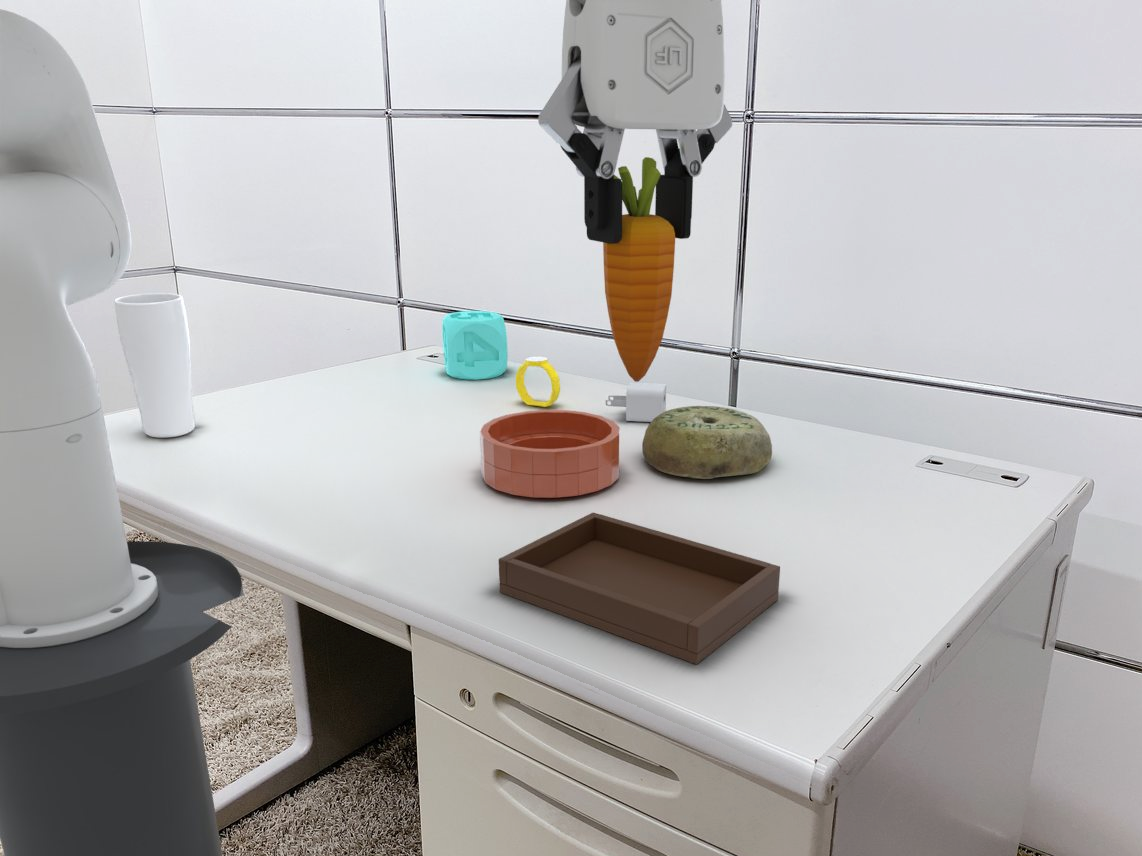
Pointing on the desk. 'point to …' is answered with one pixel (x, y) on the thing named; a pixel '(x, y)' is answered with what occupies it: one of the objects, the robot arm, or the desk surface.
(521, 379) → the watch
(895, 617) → the desk surface
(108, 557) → the robot arm
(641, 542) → the tray
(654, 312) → the carrot
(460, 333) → the decorative dice
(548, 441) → the bowl
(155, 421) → the drinking glass
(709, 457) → the weight
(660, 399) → the usb wall charger
